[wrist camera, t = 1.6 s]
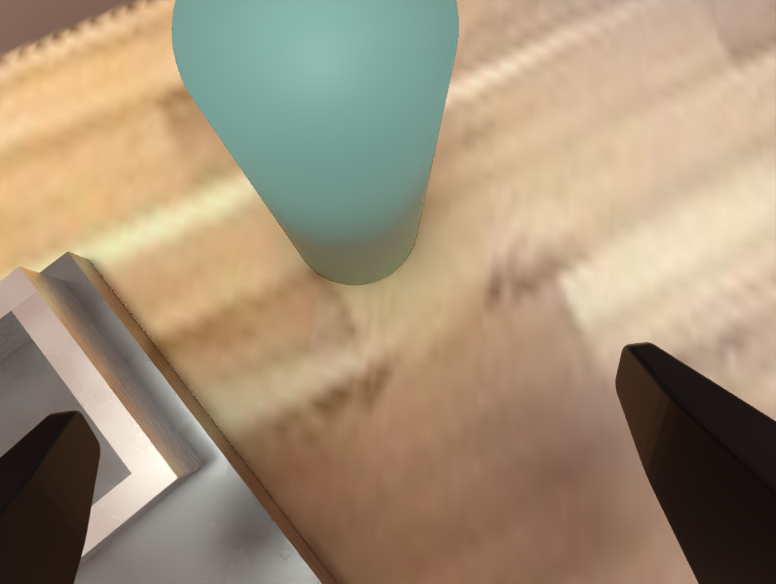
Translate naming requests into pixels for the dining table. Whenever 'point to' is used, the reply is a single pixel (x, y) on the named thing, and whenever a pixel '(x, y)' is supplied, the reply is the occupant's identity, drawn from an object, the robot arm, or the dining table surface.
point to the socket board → (138, 442)
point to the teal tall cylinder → (326, 114)
